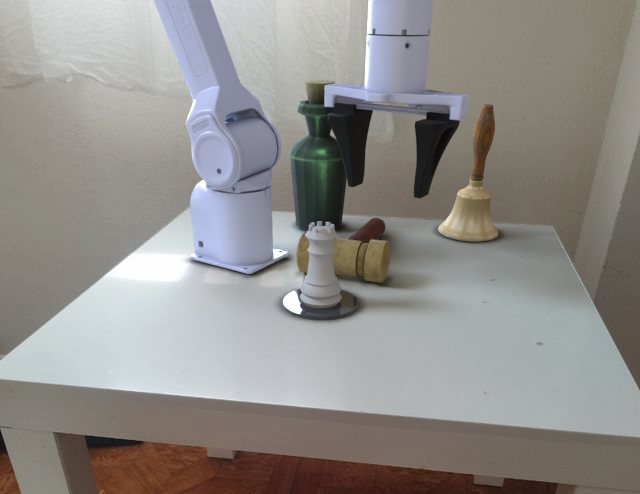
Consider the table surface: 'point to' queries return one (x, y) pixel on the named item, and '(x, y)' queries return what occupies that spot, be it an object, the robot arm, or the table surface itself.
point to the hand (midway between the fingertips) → (387, 190)
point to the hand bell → (474, 190)
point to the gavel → (355, 253)
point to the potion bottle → (317, 164)
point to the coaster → (299, 309)
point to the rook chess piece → (321, 268)
